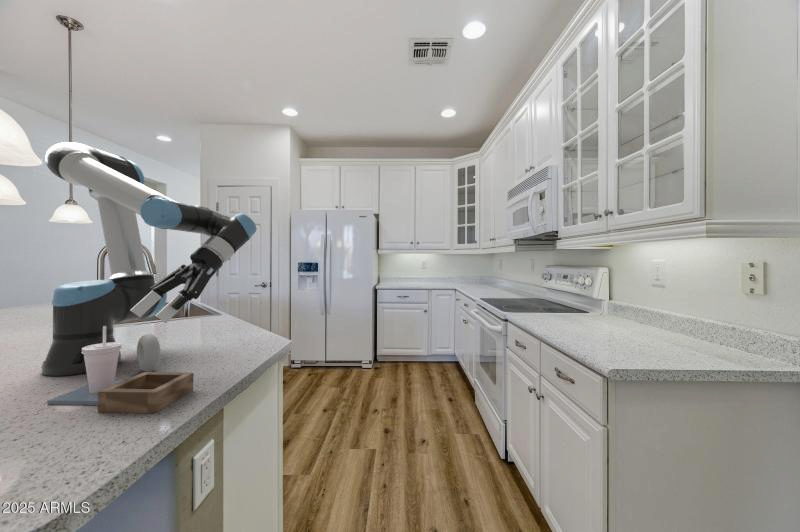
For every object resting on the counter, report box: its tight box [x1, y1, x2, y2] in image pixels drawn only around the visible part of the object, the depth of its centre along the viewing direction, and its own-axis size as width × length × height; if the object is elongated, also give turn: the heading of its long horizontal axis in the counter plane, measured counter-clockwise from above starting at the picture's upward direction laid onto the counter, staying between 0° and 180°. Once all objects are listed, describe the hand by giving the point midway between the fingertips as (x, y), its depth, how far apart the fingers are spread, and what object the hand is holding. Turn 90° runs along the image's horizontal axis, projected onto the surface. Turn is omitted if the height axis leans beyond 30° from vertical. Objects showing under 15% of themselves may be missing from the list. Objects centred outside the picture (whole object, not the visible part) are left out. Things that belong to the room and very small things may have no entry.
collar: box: [97, 371, 194, 414], centre depth 65 cm, size 11×11×4 cm
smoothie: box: [81, 326, 122, 393], centre depth 68 cm, size 6×6×14 cm
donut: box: [136, 333, 162, 373], centre depth 82 cm, size 10×4×10 cm, turn 53°
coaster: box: [46, 379, 123, 406], centre depth 68 cm, size 11×11×1 cm
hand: (147, 316), depth 74 cm, fingers open, 13 cm apart
